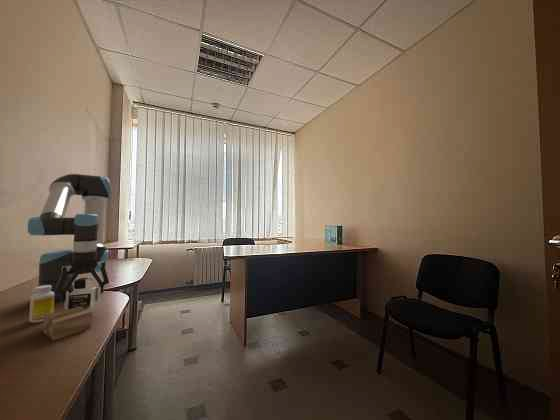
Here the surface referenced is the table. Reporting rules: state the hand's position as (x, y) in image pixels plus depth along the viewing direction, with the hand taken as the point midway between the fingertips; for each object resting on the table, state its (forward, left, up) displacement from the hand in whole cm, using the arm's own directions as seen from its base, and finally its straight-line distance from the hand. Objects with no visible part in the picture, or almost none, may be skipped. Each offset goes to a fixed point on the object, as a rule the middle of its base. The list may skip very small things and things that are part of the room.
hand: (82, 304), depth 94 cm
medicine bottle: (0, 0, -1) cm, 1 cm away
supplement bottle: (-7, -11, -4) cm, 14 cm away
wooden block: (+12, -6, -4) cm, 14 cm away
